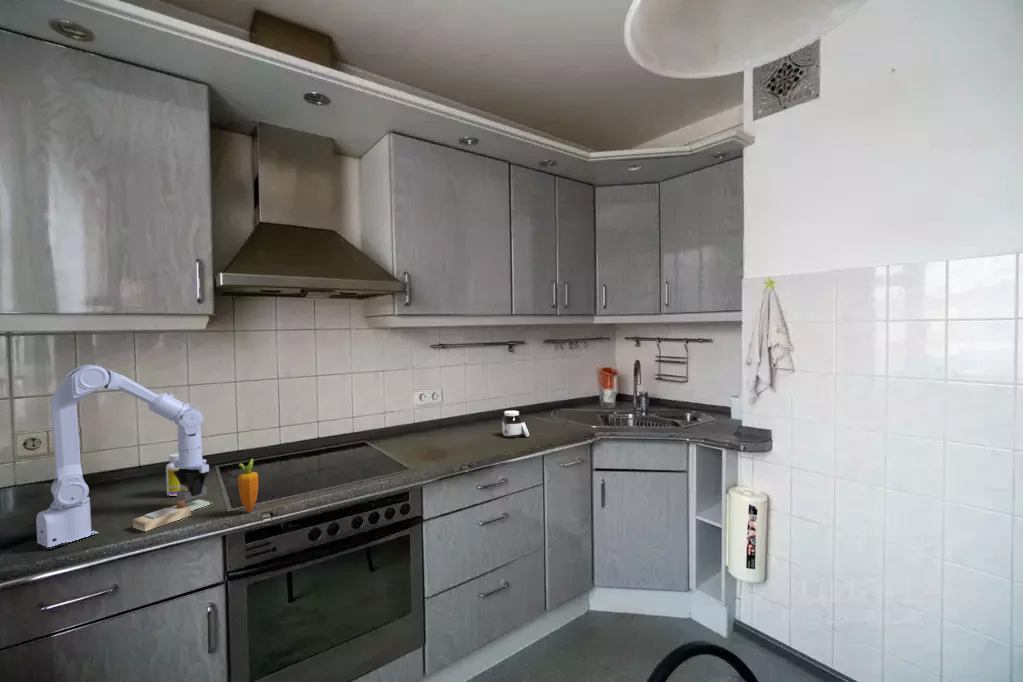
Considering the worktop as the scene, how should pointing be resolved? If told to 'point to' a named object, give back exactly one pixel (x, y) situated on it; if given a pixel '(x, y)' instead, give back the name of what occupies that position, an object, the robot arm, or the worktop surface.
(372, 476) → the worktop surface
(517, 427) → the spread jar
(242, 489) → the carrot
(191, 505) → the sage mat
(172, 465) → the supplement bottle
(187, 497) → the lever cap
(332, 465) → the worktop surface
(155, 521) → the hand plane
